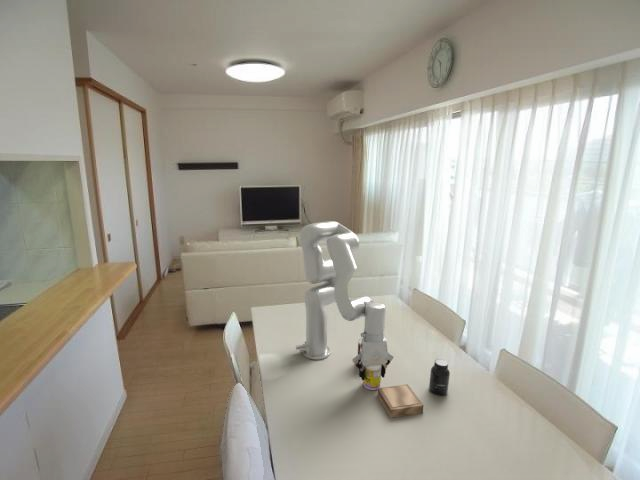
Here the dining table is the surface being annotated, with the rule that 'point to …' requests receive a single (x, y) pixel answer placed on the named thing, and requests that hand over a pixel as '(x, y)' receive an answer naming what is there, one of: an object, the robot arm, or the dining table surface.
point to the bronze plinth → (400, 400)
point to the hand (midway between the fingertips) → (372, 376)
